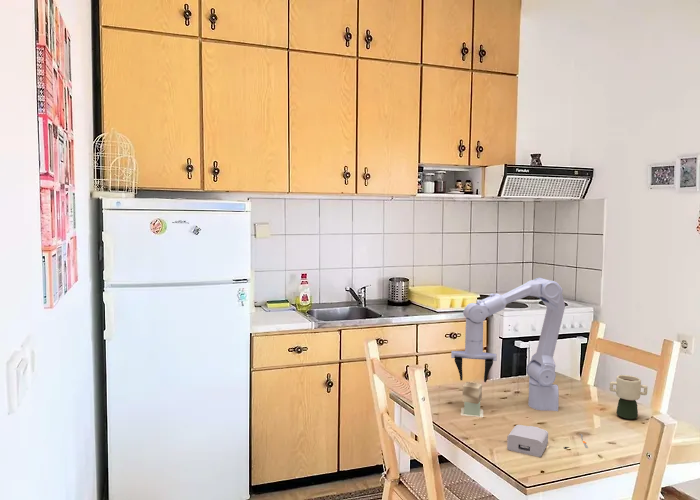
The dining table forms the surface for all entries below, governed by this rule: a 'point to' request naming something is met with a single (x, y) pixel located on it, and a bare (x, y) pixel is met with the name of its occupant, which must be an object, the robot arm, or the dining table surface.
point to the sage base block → (472, 408)
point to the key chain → (583, 442)
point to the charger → (527, 440)
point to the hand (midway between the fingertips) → (473, 380)
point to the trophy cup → (628, 395)
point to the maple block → (472, 392)
